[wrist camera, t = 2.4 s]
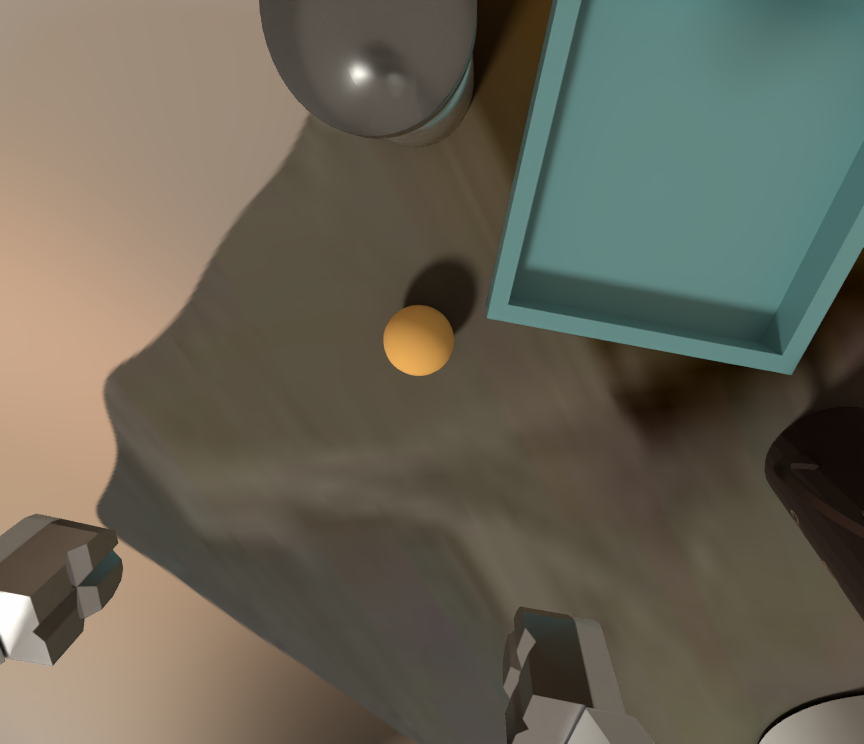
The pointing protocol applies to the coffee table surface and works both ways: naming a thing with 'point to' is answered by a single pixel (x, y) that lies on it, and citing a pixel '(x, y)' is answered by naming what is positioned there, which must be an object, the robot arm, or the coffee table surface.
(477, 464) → the coffee table surface
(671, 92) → the tray
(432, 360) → the ball
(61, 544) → the robot arm
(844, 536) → the coffee mug
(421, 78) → the cup
